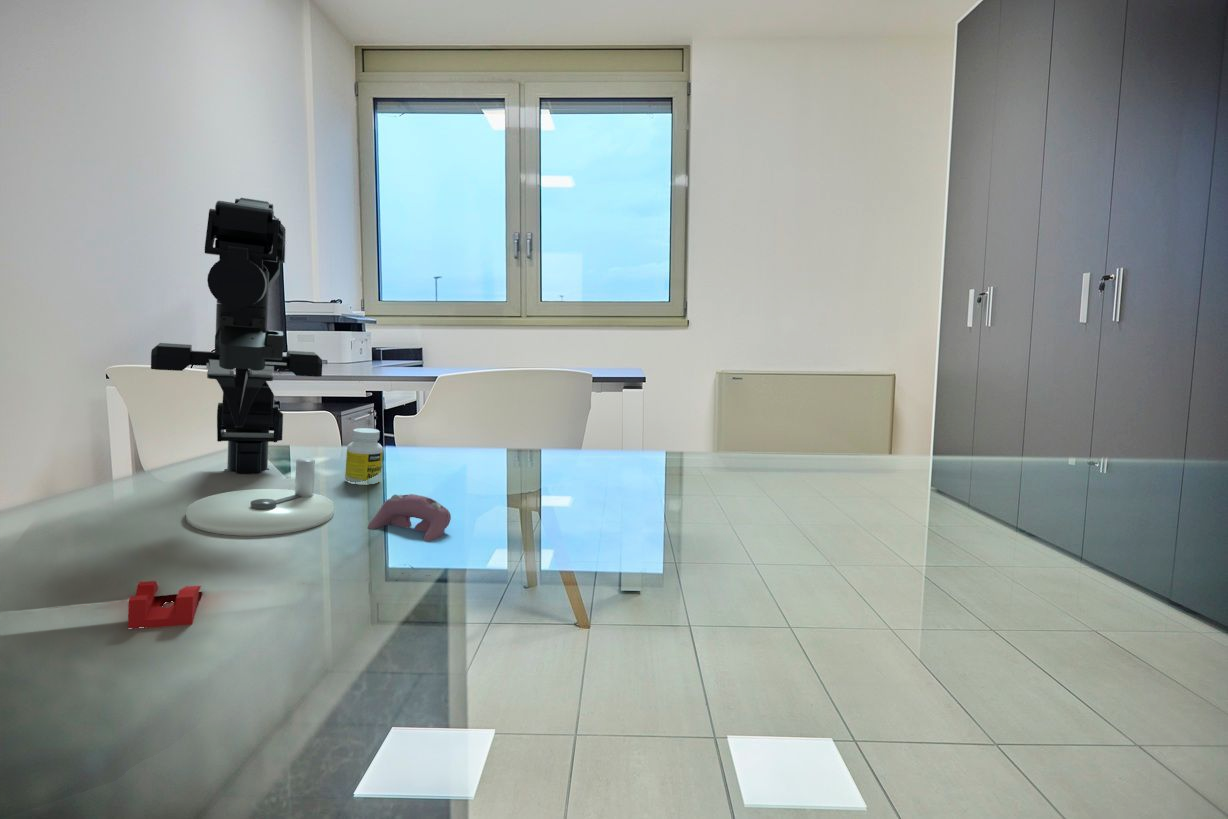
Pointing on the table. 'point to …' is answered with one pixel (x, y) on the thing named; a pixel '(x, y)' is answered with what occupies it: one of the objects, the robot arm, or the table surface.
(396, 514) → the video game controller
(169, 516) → the table surface
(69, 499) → the table surface
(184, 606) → the bracket
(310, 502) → the dial
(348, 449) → the supplement bottle
